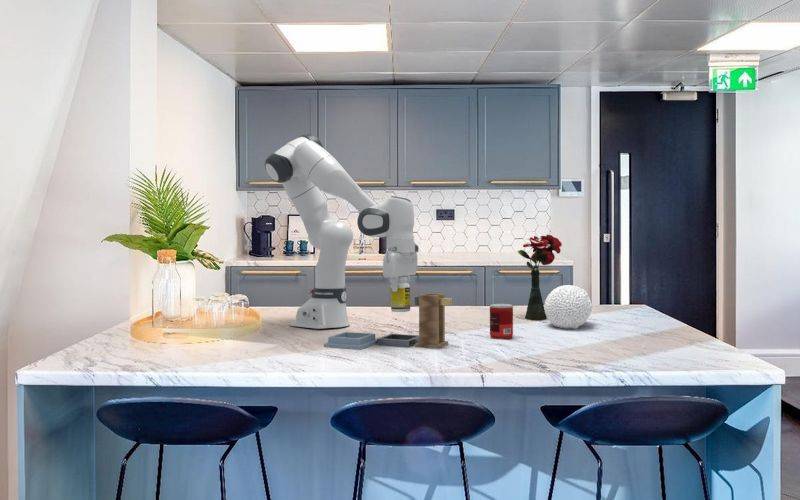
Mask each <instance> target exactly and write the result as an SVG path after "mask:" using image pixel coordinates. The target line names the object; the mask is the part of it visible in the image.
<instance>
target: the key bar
mask: <svg viewBox="0 0 800 500" xmlns="http://www.w3.org/2000/svg"><path fill="white" fill-rule="evenodd" d="M452 304H453V297H445V298H439V305H445V306H452ZM414 306H419V295H417V296H414Z"/></svg>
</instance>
